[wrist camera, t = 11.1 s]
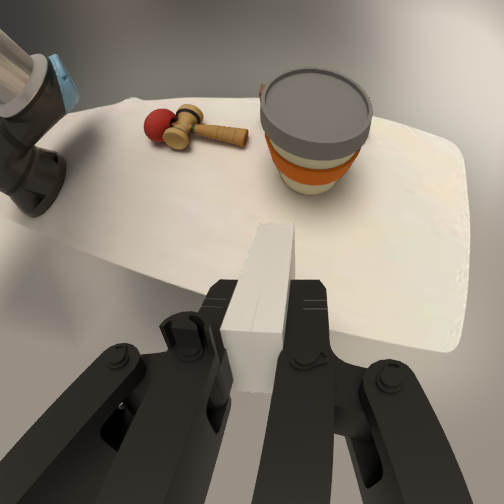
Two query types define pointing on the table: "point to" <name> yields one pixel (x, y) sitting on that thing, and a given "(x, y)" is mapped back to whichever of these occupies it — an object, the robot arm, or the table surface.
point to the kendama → (188, 128)
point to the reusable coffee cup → (314, 126)
